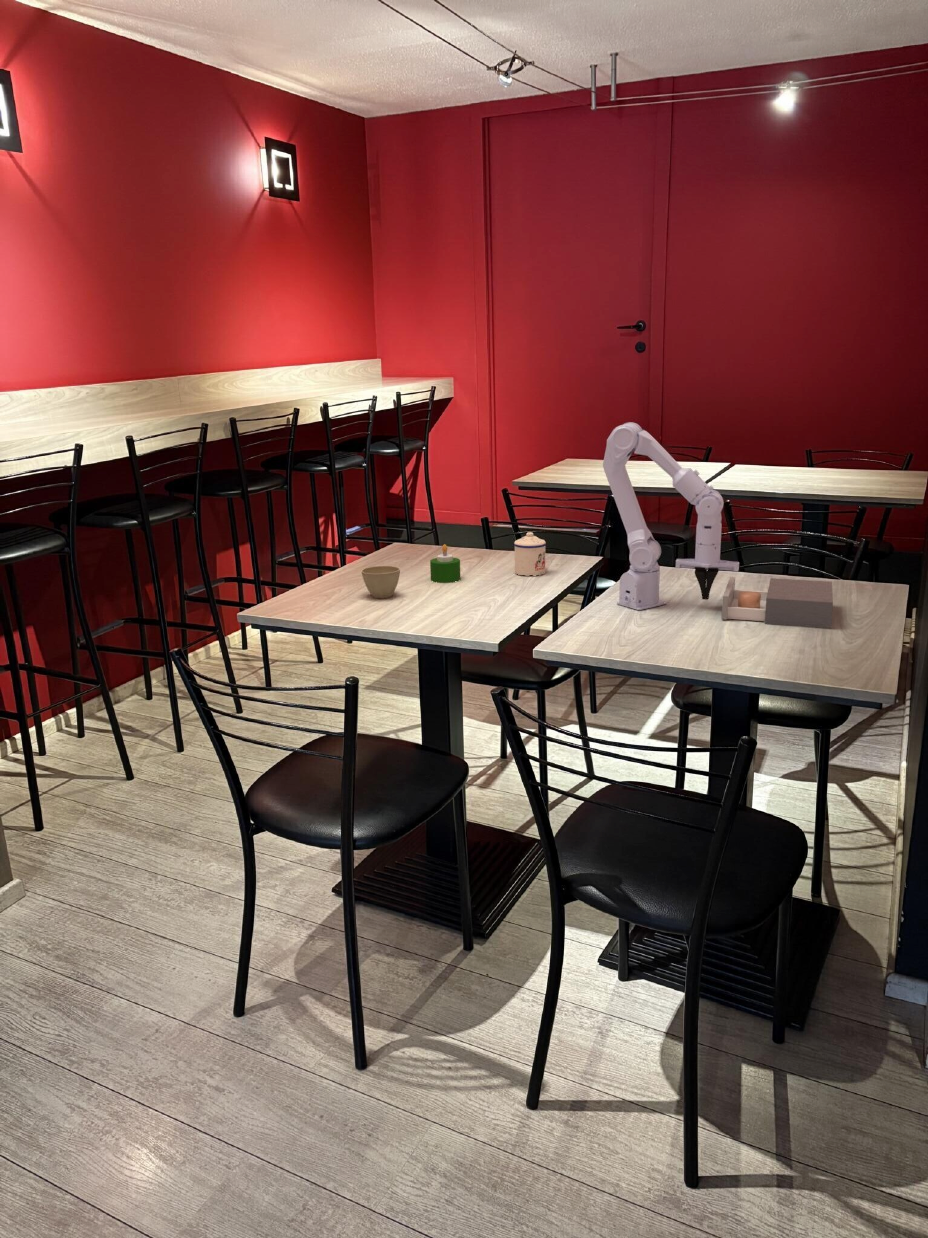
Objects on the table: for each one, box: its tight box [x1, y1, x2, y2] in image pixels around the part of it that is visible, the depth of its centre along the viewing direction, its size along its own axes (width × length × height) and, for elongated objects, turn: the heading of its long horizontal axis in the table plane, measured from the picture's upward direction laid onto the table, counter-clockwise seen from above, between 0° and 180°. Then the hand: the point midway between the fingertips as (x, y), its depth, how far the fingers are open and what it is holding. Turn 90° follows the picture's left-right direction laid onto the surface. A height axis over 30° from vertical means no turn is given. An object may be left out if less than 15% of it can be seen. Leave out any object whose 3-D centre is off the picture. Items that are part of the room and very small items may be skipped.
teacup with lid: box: [513, 531, 547, 577], centre depth 266 cm, size 12×9×12 cm
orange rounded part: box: [738, 590, 761, 609], centre depth 222 cm, size 5×5×4 cm
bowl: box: [361, 565, 401, 599], centre depth 244 cm, size 10×10×7 cm
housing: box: [764, 577, 834, 629], centre depth 218 cm, size 14×20×6 cm
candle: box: [429, 543, 461, 584], centre depth 260 cm, size 8×8×10 cm
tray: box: [721, 576, 768, 622], centre depth 222 cm, size 12×20×6 cm, turn 160°
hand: (705, 598), depth 226 cm, fingers closed
